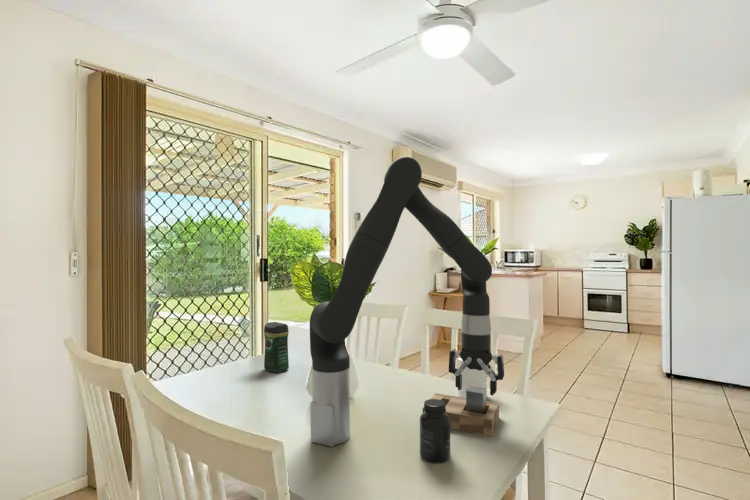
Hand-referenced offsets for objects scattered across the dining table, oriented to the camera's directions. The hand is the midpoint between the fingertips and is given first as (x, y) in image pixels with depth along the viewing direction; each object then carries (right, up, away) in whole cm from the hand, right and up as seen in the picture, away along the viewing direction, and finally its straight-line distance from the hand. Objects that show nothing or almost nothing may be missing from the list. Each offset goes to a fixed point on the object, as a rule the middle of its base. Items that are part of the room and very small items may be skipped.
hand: (475, 391), depth 104 cm
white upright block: (+4, -9, +20) cm, 22 cm away
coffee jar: (-65, -9, +48) cm, 82 cm away
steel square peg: (0, -9, 0) cm, 9 cm away
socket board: (-3, -9, +2) cm, 9 cm away
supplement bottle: (-13, -9, -17) cm, 23 cm away
